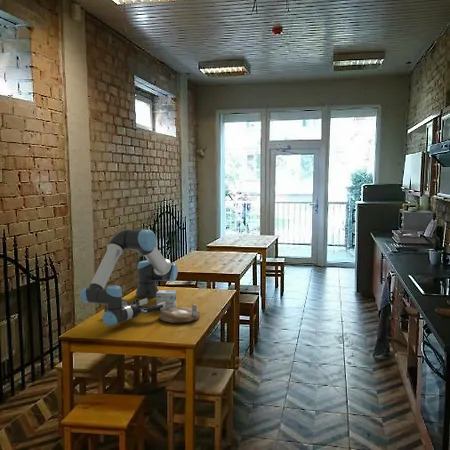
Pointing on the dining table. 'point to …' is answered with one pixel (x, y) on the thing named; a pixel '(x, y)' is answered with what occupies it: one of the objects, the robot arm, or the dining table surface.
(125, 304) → the tin
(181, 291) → the dining table surface
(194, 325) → the dining table surface
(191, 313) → the brown wide round piece
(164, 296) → the light bulb box
